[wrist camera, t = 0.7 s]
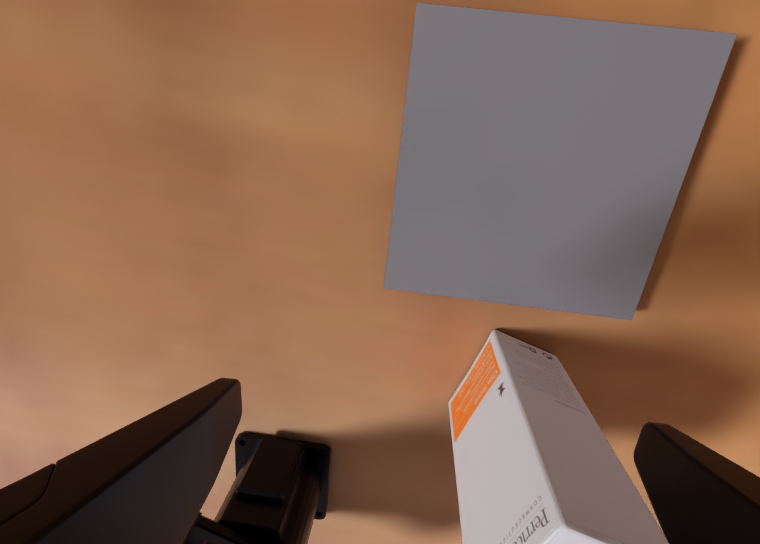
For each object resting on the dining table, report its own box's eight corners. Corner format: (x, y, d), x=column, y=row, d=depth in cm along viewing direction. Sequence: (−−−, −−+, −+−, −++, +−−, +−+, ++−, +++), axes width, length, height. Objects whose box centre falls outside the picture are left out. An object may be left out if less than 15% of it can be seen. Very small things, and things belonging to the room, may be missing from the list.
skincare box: (491, 325, 22) (566, 520, 11) (557, 353, 23) (696, 573, 11) (443, 403, 24) (467, 634, 13) (505, 429, 25) (579, 677, 13)
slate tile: (620, 310, 21) (632, 320, 20) (385, 279, 22) (383, 288, 21) (715, 40, 17) (737, 34, 16) (416, 11, 17) (416, 2, 16)
